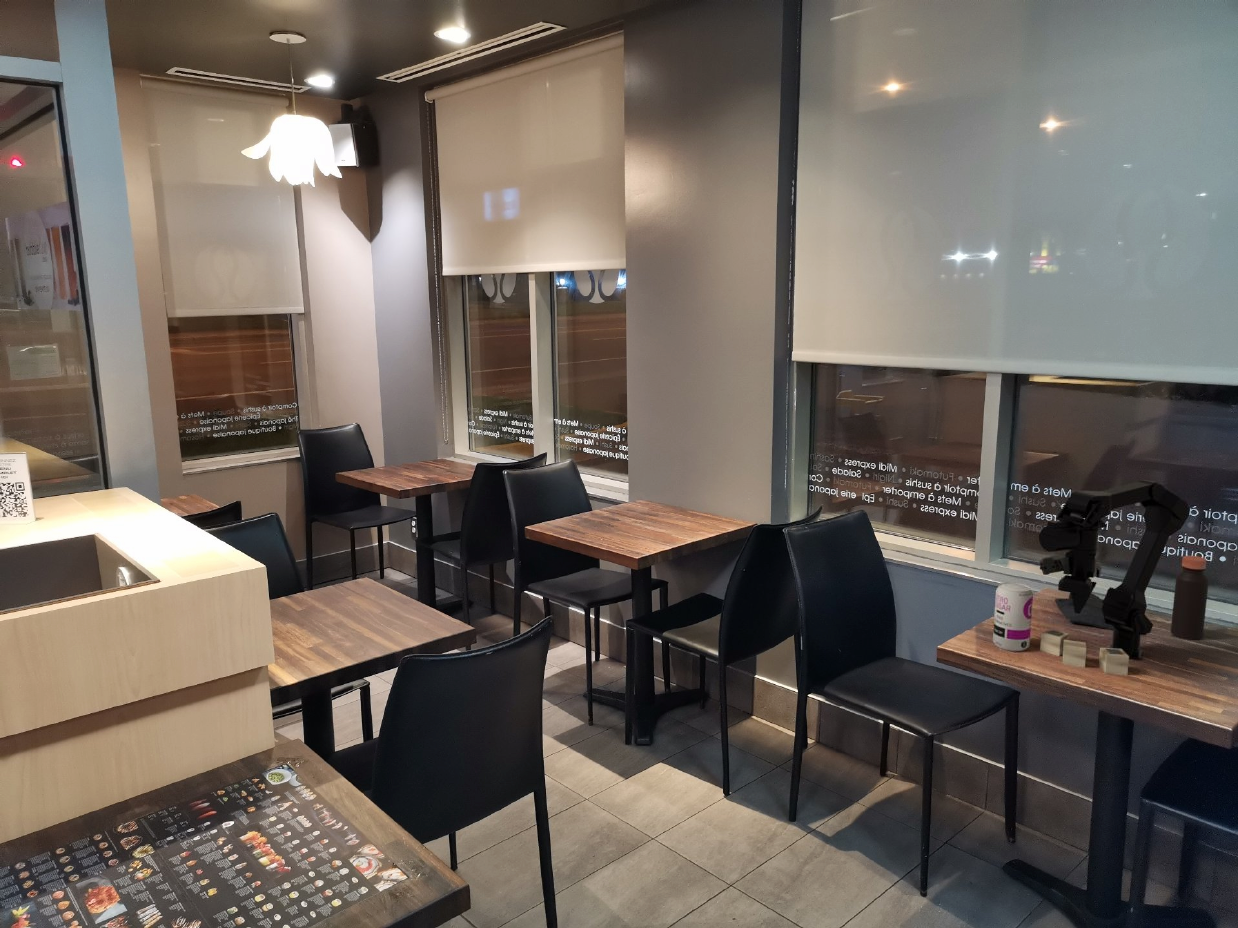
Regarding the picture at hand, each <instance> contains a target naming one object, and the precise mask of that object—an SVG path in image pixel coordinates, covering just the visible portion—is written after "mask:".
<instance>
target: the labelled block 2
mask: <svg viewBox="0 0 1238 928" xmlns="http://www.w3.org/2000/svg"><path fill="white" fill-rule="evenodd" d="M1098 658H1099V659H1098V667H1099V668H1100V670H1101V671H1102V672H1103V673H1104V674H1105V675H1119V676H1120V675H1121V676H1128V671H1129V659H1130V658H1129V656H1128V655H1127V654H1126V653H1125V652H1124V651H1123V650H1122V649H1114V648H1110V647H1100V648H1099V656H1098Z"/></svg>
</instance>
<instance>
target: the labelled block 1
mask: <svg viewBox="0 0 1238 928" xmlns="http://www.w3.org/2000/svg"><path fill="white" fill-rule="evenodd" d="M1040 635H1041V636H1040V647H1039V651H1040V652H1043V653H1047V654H1051V655H1054V656H1057V657H1060V656H1063V646H1064V640H1070V633H1067V632H1063V631H1060V630H1055V629H1052V628H1049V629H1047V630H1045V631H1043V632H1041V633H1040Z"/></svg>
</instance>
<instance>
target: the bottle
mask: <svg viewBox="0 0 1238 928" xmlns="http://www.w3.org/2000/svg"><path fill="white" fill-rule="evenodd" d="M1181 561H1182V562H1181V568H1182V571H1180V572H1179V573H1177V574H1176V577H1175V584H1174V597H1173V606H1172V612H1171V613H1172V616H1171V625H1170V633H1171V634H1172V635H1173V636H1175V637H1177V638H1180V639H1186V640H1201V639H1202V638H1203V636H1204V629H1205V627H1204V626H1205V621H1206V620H1205V619H1206V612H1207V611H1206V609H1207V601H1208V593H1209V592H1208V591H1209V584H1210V582H1209V581H1210V580H1209V578H1208V577H1207V576H1206V575H1205V574H1204V571H1206V568H1207V559H1206V558H1204V557H1202V556H1197V555H1184V556H1182V560H1181Z"/></svg>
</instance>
